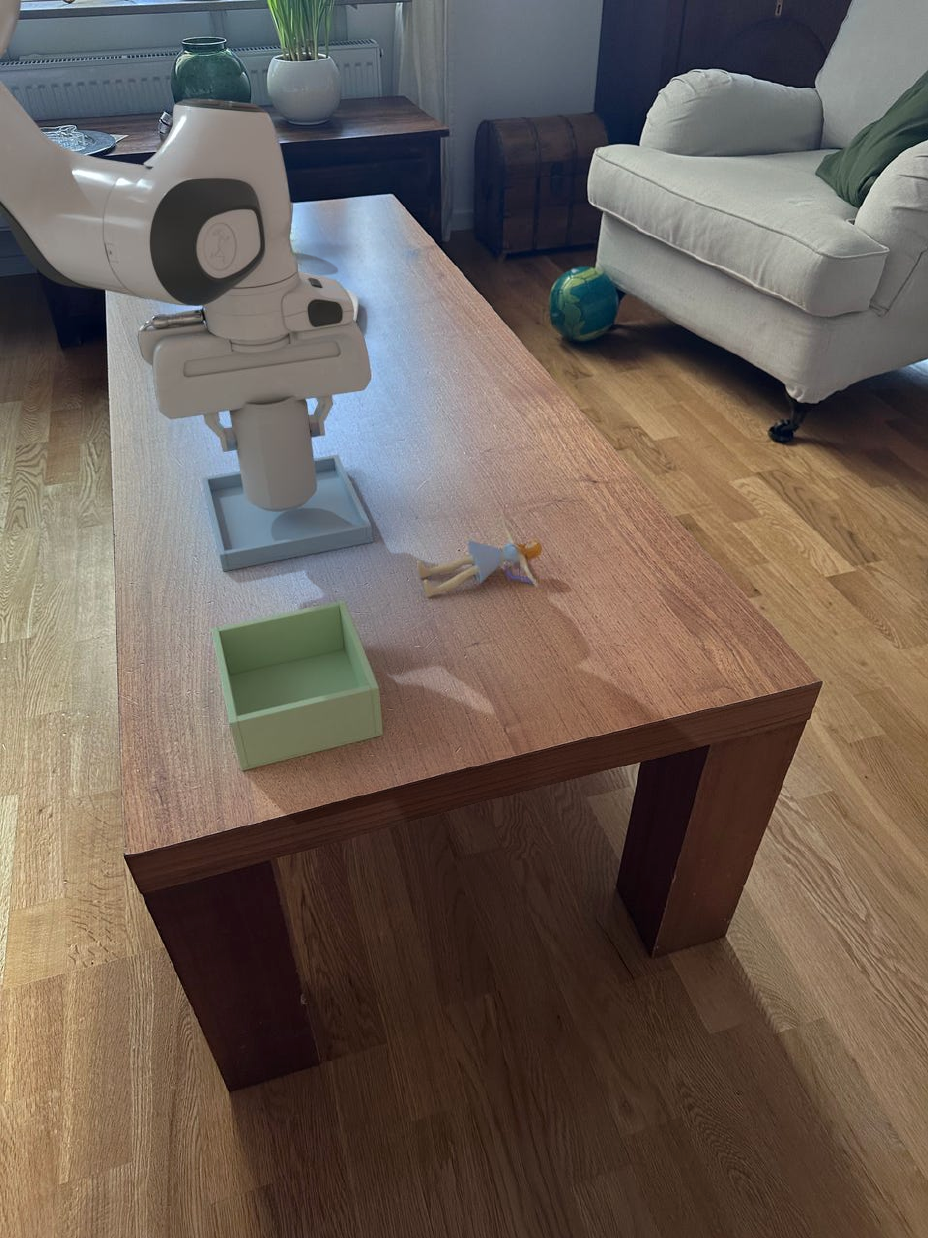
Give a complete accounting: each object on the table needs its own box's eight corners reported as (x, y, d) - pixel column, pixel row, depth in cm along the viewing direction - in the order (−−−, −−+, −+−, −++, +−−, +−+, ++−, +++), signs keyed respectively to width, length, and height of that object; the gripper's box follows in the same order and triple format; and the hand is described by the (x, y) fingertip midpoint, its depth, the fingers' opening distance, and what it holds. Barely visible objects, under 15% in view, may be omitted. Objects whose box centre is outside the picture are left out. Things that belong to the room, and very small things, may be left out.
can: (325, 479, 95) (313, 374, 87) (308, 518, 89) (294, 409, 81) (257, 476, 95) (239, 371, 88) (236, 514, 90) (215, 405, 82)
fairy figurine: (405, 525, 86) (521, 496, 88) (412, 563, 90) (525, 534, 91) (432, 596, 78) (560, 563, 79) (439, 635, 81) (562, 602, 83)
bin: (241, 771, 67) (229, 723, 64) (222, 675, 75) (210, 628, 72) (383, 735, 70) (379, 687, 67) (350, 646, 78) (344, 599, 75)
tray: (223, 571, 87) (219, 555, 85) (204, 493, 98) (201, 477, 96) (373, 541, 90) (371, 525, 89) (339, 469, 101) (337, 454, 100)
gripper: (134, 331, 74) (169, 474, 83) (370, 301, 79) (379, 439, 88) (130, 305, 79) (164, 443, 88) (353, 278, 84) (364, 411, 93)
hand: (274, 441), depth 88 cm, fingers closed on can, 7 cm apart
